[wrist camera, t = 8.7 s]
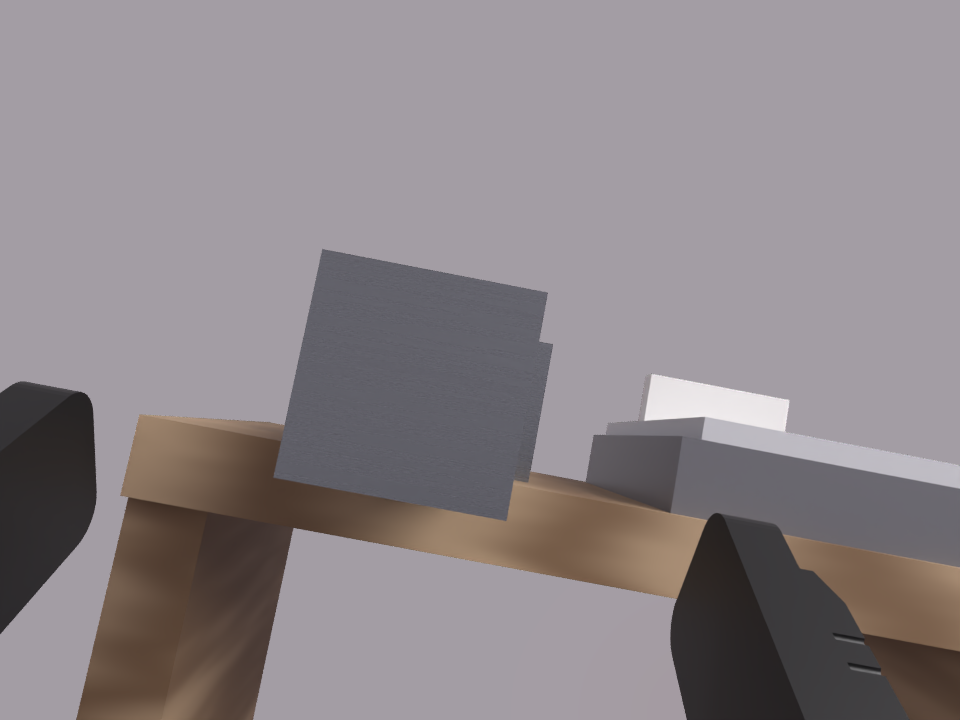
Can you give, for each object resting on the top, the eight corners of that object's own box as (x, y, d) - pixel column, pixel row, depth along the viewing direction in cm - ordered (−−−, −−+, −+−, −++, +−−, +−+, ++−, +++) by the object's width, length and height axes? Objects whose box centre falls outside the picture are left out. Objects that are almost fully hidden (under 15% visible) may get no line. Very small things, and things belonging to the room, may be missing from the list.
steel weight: (506, 468, 29) (525, 368, 29) (621, 542, 9) (671, 241, 10) (355, 440, 29) (375, 339, 29) (155, 455, 9) (225, 154, 10)
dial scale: (805, 522, 32) (821, 409, 33) (1048, 584, 19) (1067, 394, 20) (580, 480, 32) (599, 367, 33) (670, 513, 19) (700, 323, 19)
